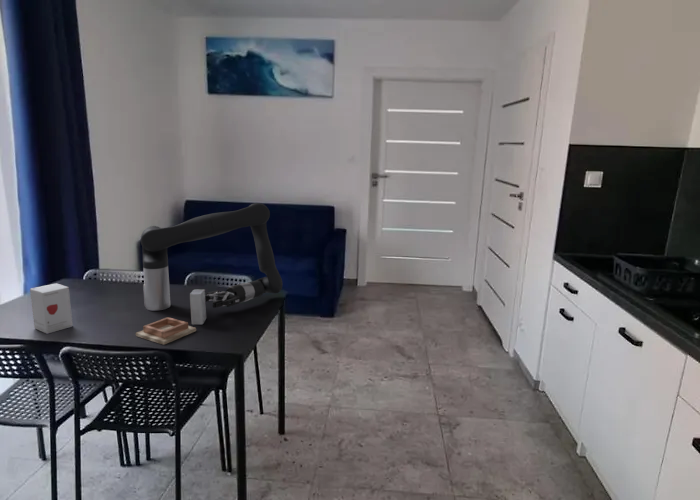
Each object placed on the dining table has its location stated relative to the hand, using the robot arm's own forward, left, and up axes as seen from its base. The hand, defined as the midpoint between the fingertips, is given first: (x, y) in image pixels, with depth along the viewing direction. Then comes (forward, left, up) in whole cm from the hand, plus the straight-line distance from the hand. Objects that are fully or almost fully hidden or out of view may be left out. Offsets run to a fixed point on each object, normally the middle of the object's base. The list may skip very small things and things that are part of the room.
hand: (206, 302), depth 173 cm
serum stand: (-2, -18, -7) cm, 19 cm away
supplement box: (-40, -35, -7) cm, 53 cm away
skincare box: (-1, -4, -7) cm, 8 cm away
